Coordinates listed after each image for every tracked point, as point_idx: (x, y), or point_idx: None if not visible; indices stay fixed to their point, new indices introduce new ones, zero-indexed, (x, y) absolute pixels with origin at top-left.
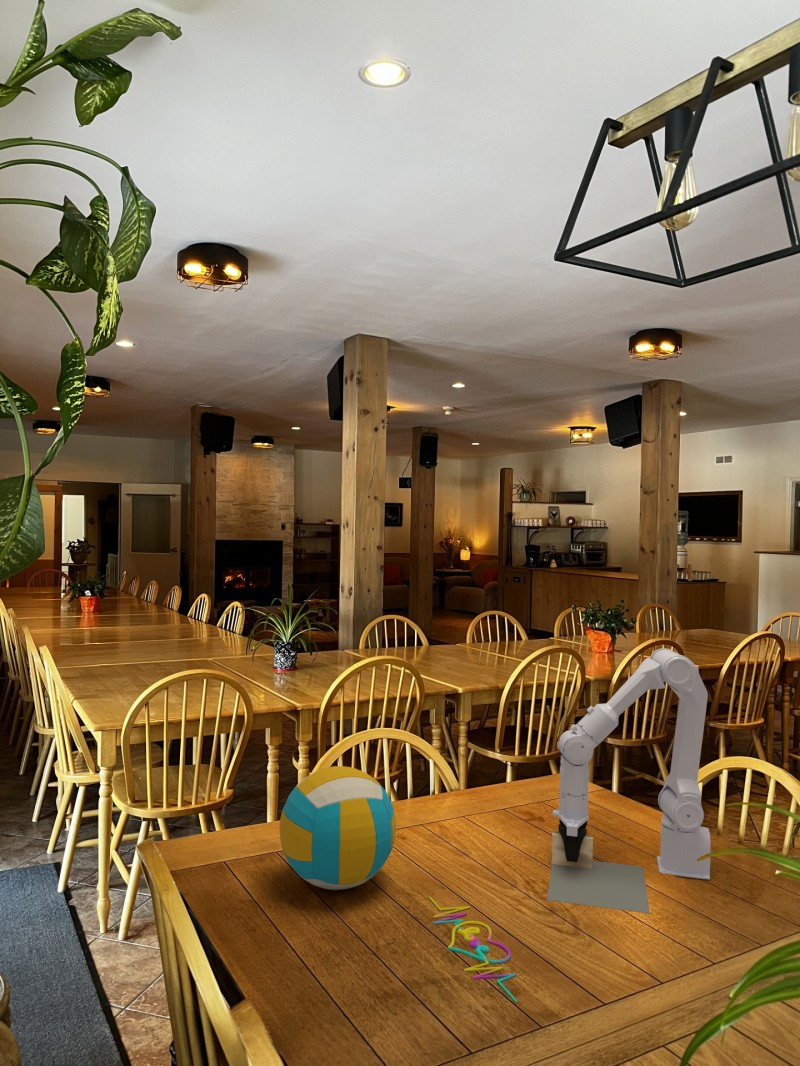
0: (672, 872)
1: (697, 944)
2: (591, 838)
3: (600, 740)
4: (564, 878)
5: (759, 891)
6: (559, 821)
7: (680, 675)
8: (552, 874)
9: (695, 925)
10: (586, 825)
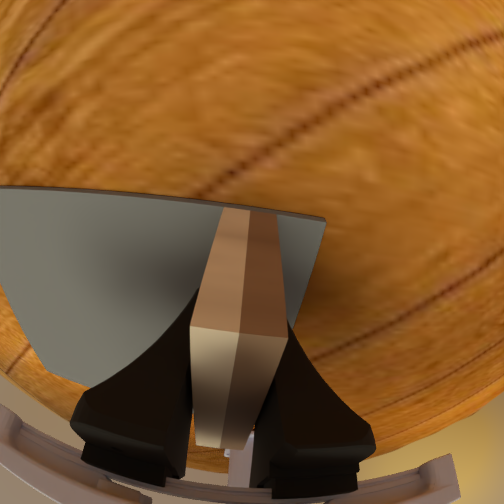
0: None
1: (25, 379)
2: (201, 443)
3: None
4: (94, 248)
5: (207, 464)
6: (290, 447)
7: None
8: (107, 204)
9: (64, 399)
10: (249, 482)
